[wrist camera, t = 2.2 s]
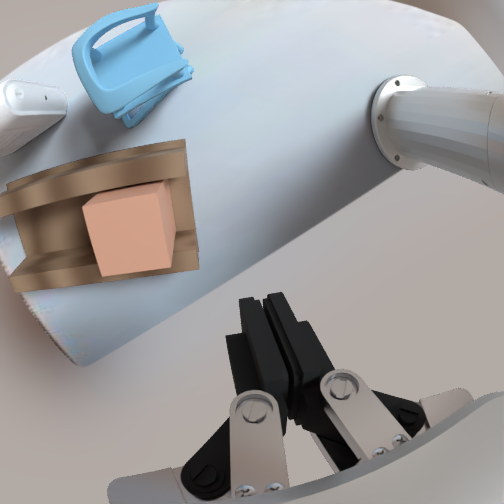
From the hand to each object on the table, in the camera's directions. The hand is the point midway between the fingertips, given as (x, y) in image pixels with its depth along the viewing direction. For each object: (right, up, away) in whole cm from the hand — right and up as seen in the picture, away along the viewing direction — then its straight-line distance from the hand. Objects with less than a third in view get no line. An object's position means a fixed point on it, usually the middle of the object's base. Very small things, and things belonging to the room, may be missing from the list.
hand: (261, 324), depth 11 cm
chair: (-10, +20, +11) cm, 25 cm away
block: (-11, +7, +15) cm, 21 cm away
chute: (-17, +7, +16) cm, 24 cm away
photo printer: (-24, +17, +9) cm, 31 cm away
